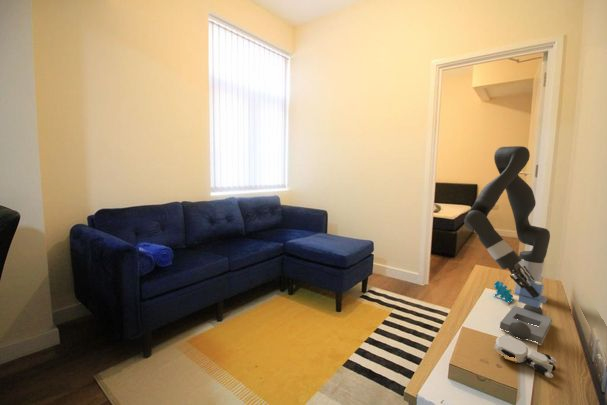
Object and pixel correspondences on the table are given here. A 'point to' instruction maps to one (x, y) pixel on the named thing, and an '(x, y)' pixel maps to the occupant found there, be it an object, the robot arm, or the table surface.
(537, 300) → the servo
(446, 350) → the table surface
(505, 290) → the gear
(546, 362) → the robot toy
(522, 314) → the chassis
